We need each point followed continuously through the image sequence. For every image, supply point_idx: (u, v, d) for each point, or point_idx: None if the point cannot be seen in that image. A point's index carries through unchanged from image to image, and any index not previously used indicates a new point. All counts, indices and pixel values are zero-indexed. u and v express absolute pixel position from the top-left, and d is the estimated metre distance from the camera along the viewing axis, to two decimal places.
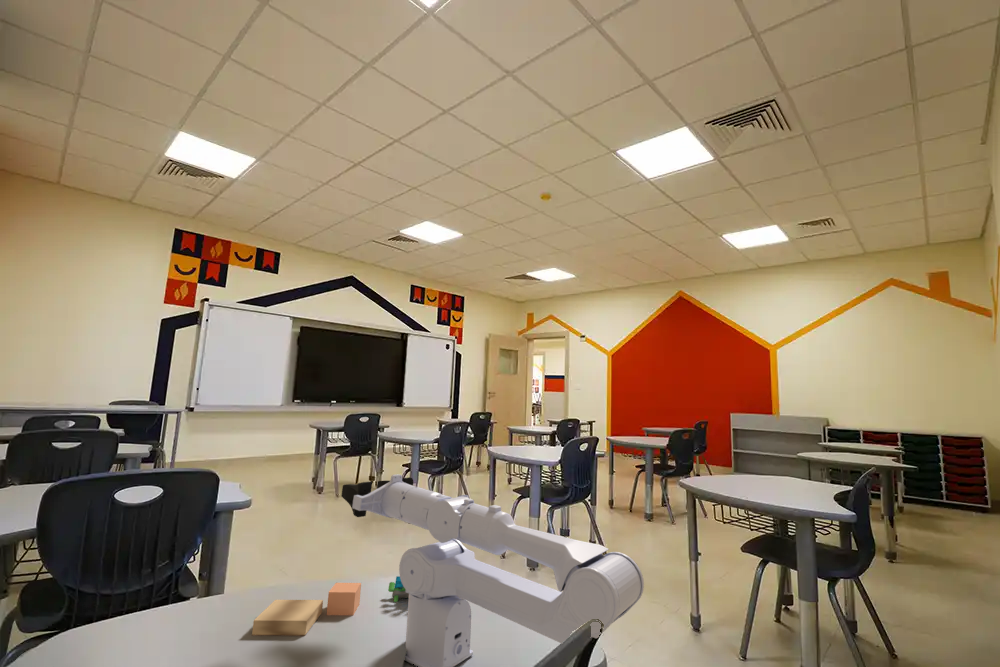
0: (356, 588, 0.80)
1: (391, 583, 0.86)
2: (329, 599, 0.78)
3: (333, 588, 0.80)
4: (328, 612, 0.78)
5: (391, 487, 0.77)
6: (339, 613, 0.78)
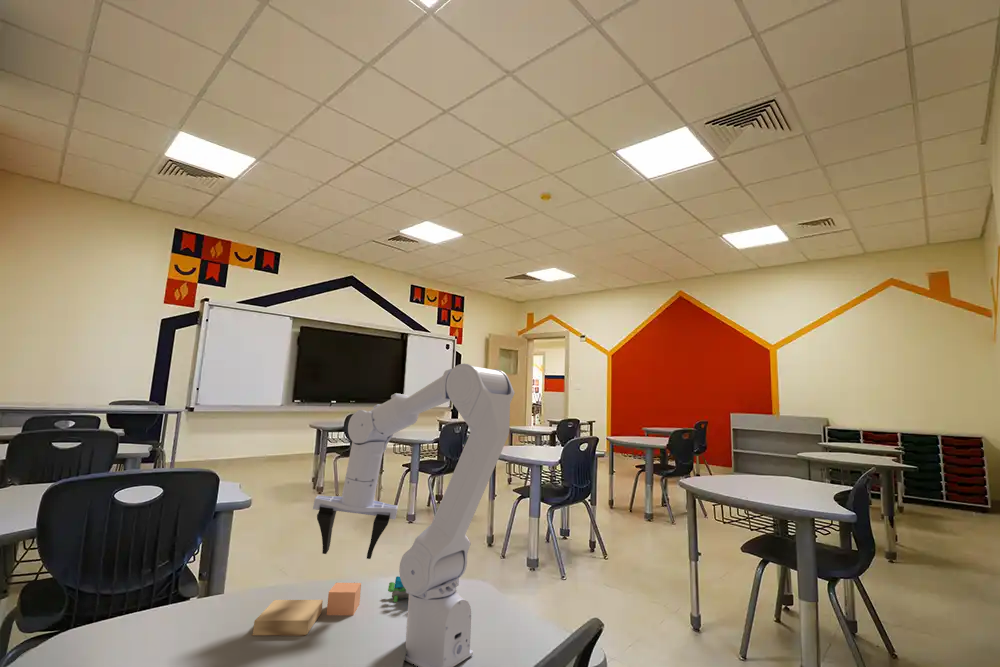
0: (356, 588, 0.80)
1: (391, 583, 0.86)
2: (329, 599, 0.78)
3: (333, 588, 0.80)
4: (328, 612, 0.78)
5: None
6: (339, 613, 0.78)
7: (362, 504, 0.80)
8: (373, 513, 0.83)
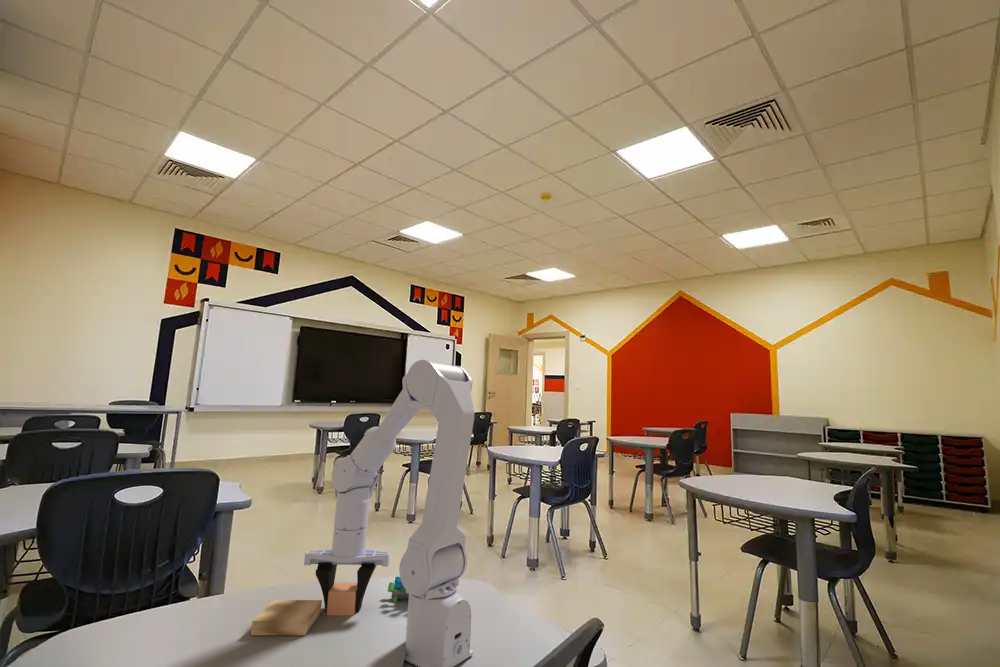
0: (356, 587, 0.80)
1: (390, 583, 0.86)
2: (329, 598, 0.78)
3: (333, 587, 0.80)
4: (328, 611, 0.78)
5: None
6: (339, 612, 0.78)
7: (352, 554, 0.79)
8: (365, 562, 0.81)
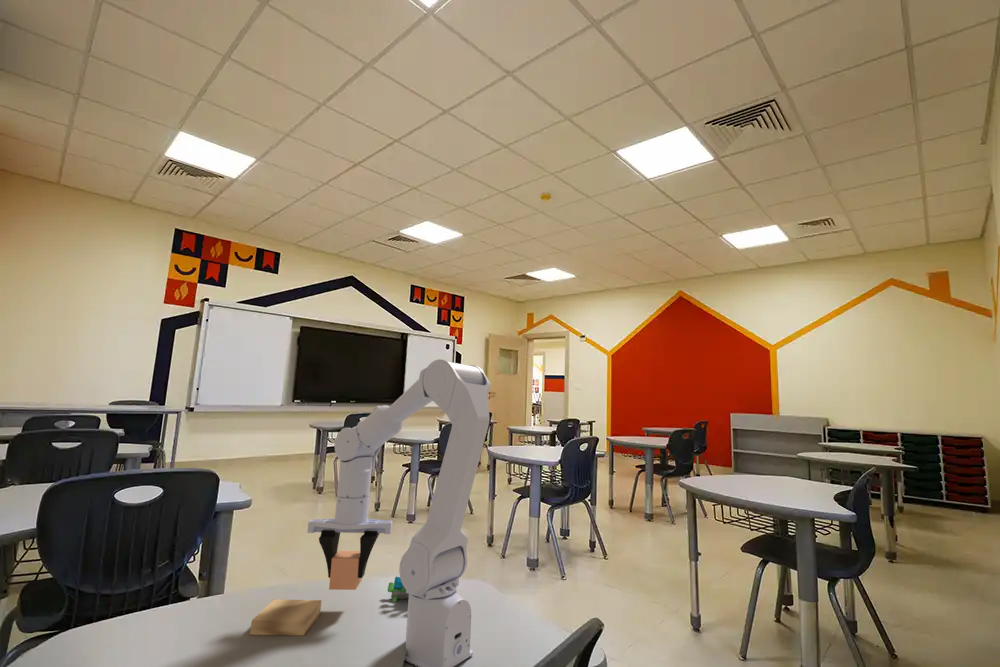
0: (359, 555, 0.81)
1: (390, 583, 0.86)
2: (332, 565, 0.79)
3: (336, 555, 0.81)
4: (331, 578, 0.79)
5: None
6: (343, 578, 0.79)
7: (355, 521, 0.80)
8: (368, 530, 0.82)
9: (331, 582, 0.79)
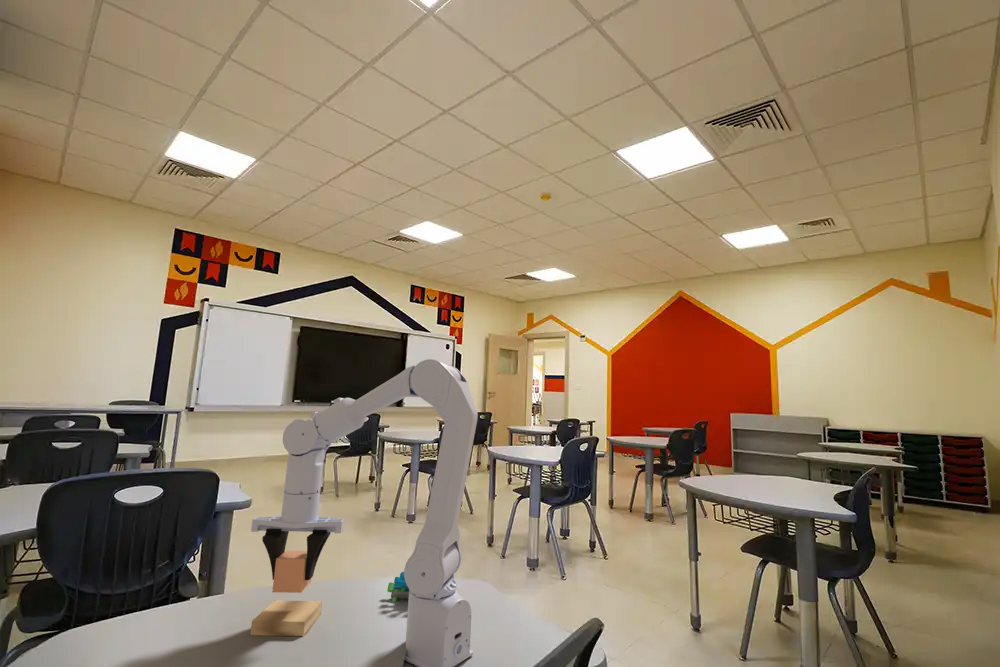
0: None
1: (390, 583, 0.86)
2: (276, 566, 0.73)
3: (282, 555, 0.75)
4: (275, 580, 0.73)
5: None
6: (287, 580, 0.73)
7: (301, 519, 0.75)
8: (317, 529, 0.77)
9: (275, 584, 0.73)
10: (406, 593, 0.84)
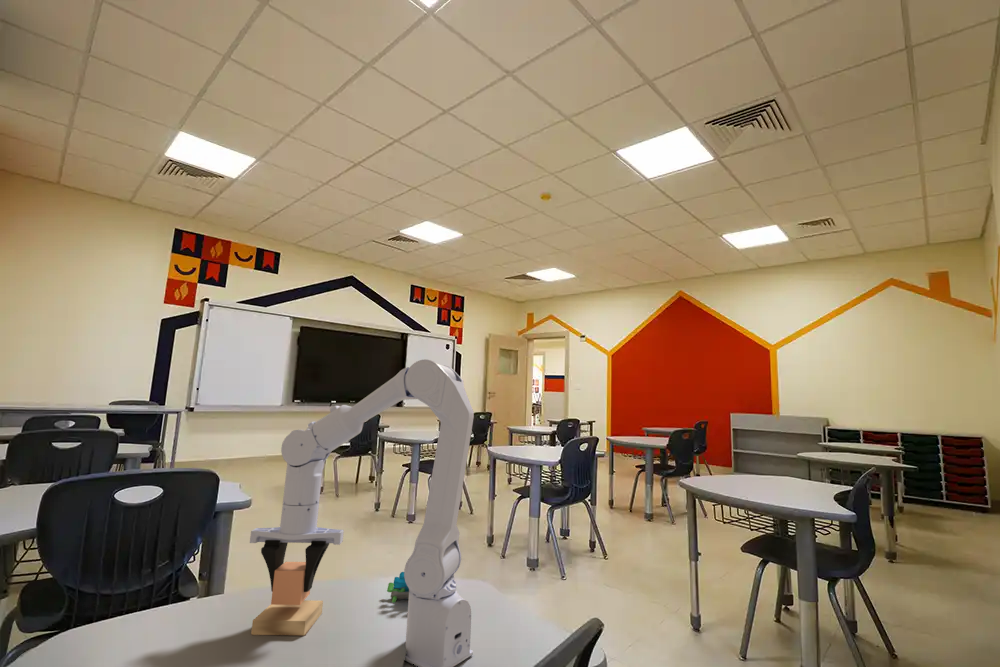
0: None
1: (390, 583, 0.86)
2: (275, 578, 0.73)
3: (281, 567, 0.75)
4: (274, 592, 0.73)
5: None
6: (286, 592, 0.73)
7: (300, 531, 0.74)
8: (316, 540, 0.76)
9: (273, 596, 0.73)
10: (406, 593, 0.84)
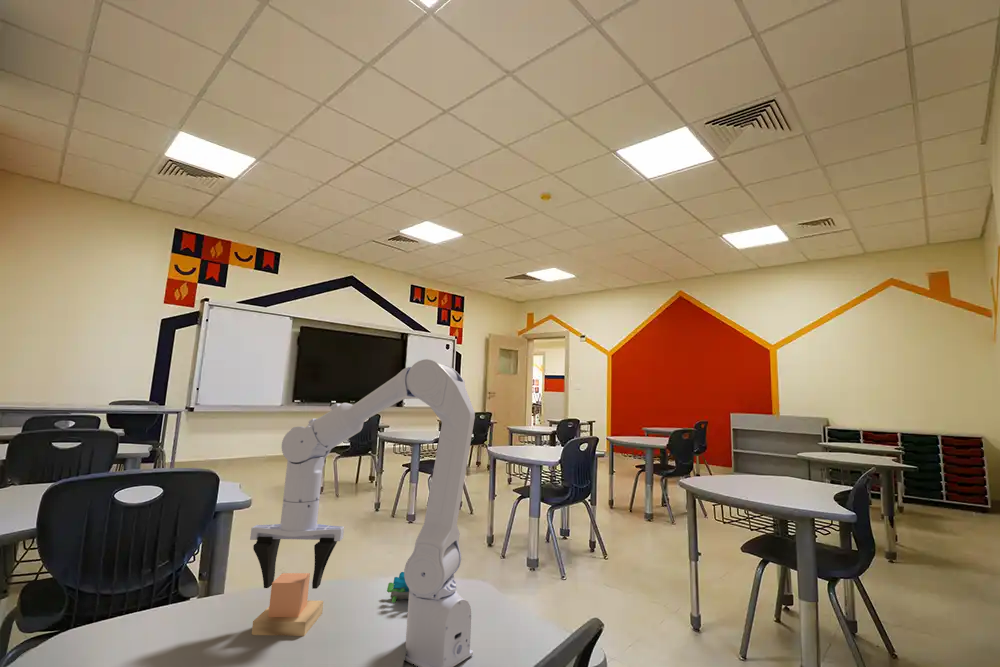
0: (303, 578, 0.75)
1: (390, 583, 0.86)
2: (272, 590, 0.72)
3: (278, 579, 0.74)
4: (271, 604, 0.72)
5: None
6: (283, 605, 0.72)
7: (301, 527, 0.74)
8: (316, 537, 0.76)
9: (271, 609, 0.72)
10: (405, 593, 0.84)
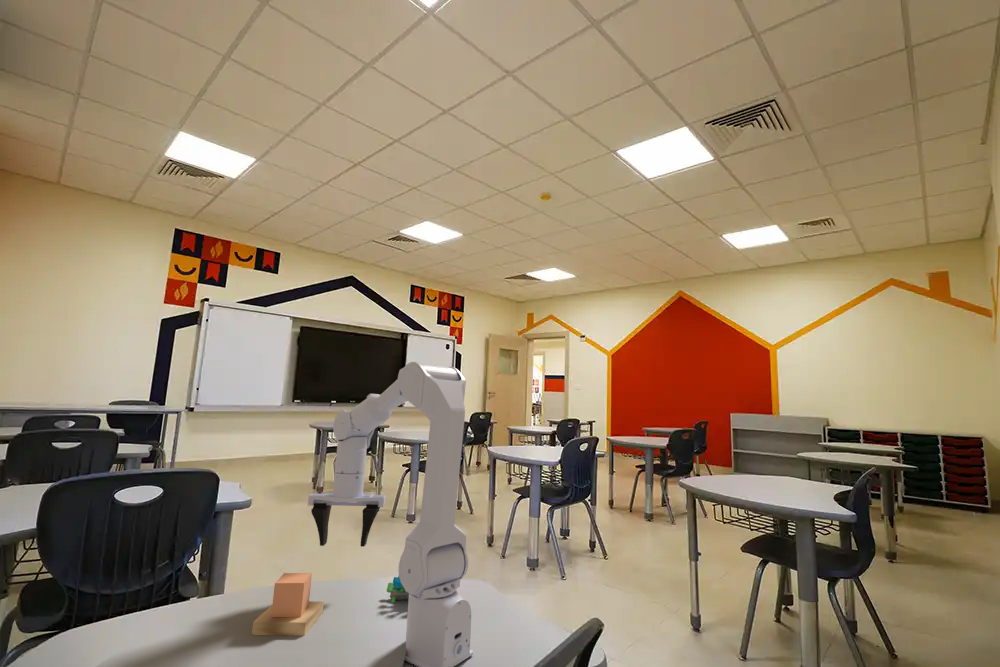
0: (305, 578, 0.75)
1: (390, 584, 0.86)
2: (275, 590, 0.73)
3: (280, 579, 0.74)
4: (274, 604, 0.72)
5: None
6: (286, 605, 0.73)
7: (351, 495, 0.88)
8: (363, 504, 0.90)
9: (273, 609, 0.72)
10: (405, 594, 0.84)
